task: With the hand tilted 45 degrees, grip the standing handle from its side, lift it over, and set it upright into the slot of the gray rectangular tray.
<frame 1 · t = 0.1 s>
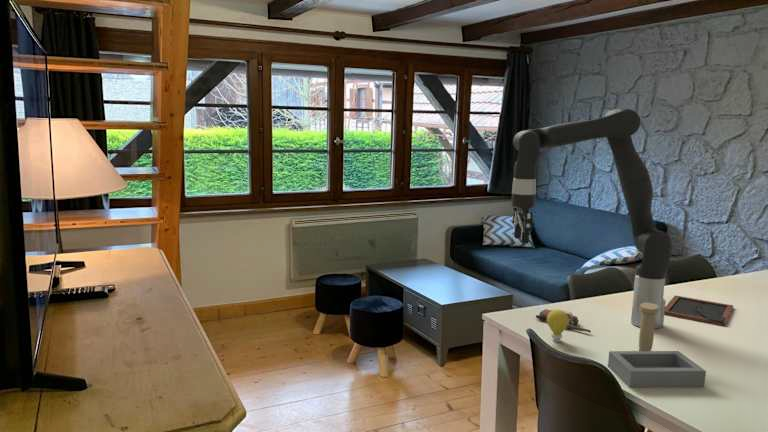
hand: (521, 240, 187), 29 cm above the table, tool pointing down, fingers open, 8 cm apart
light bulb: (556, 340, 178), on the table
walkie-talkie: (565, 326, 193), on the table
gray rectangular tray: (654, 376, 153), on the table
picture frame: (697, 313, 209), on the table
handle: (644, 354, 168), on the table
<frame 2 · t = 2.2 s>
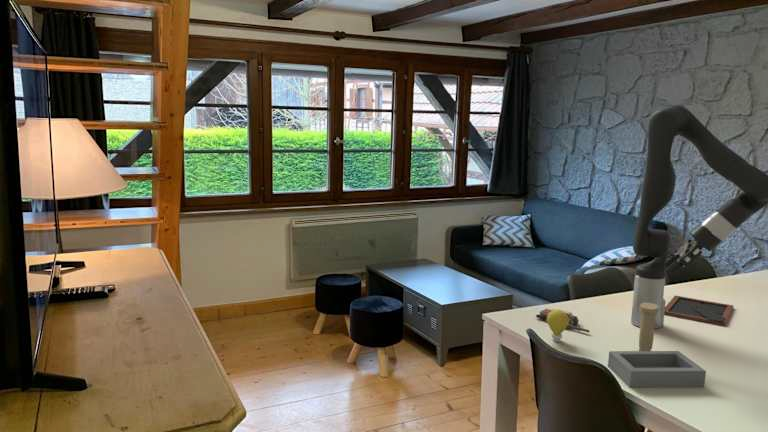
hand: (667, 269, 166), 26 cm above the table, tool tilted 40°, fingers open, 8 cm apart
nothing on the table moved.
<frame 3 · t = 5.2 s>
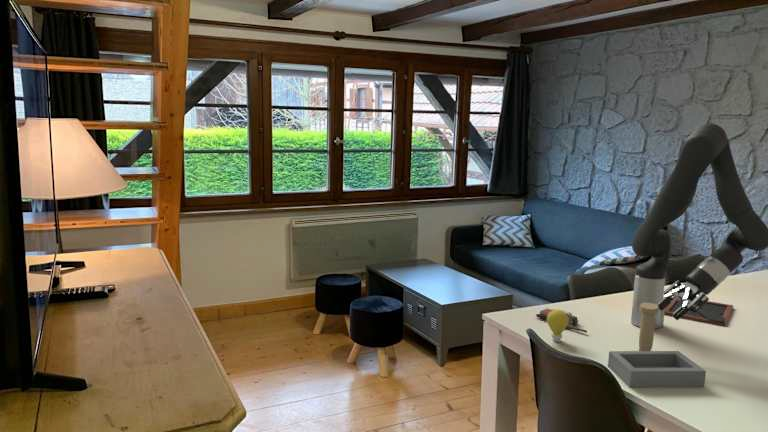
hand: (666, 312, 166), 13 cm above the table, tool tilted 45°, fingers open, 8 cm apart
nothing on the table moved.
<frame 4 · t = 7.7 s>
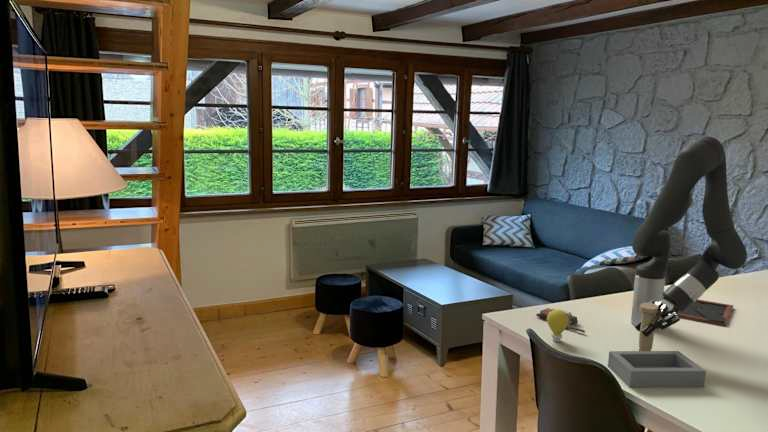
hand: (640, 331, 167), 7 cm above the table, tool tilted 45°, fingers closed on handle, 3 cm apart
handle: (644, 354, 168), on the table, touching gripper
everything else where it was.
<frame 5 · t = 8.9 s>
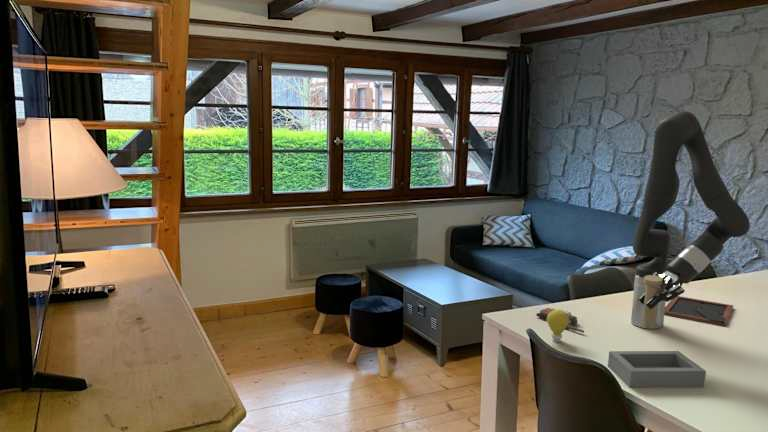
hand: (644, 304, 166), 15 cm above the table, tool tilted 45°, fingers closed on handle, 3 cm apart
handle: (648, 327, 167), point 8 cm above the table, touching gripper
when the fingers open (9 cm above the table, at t = 13.4 s): handle drops 1 cm, resting on gray rectangular tray.
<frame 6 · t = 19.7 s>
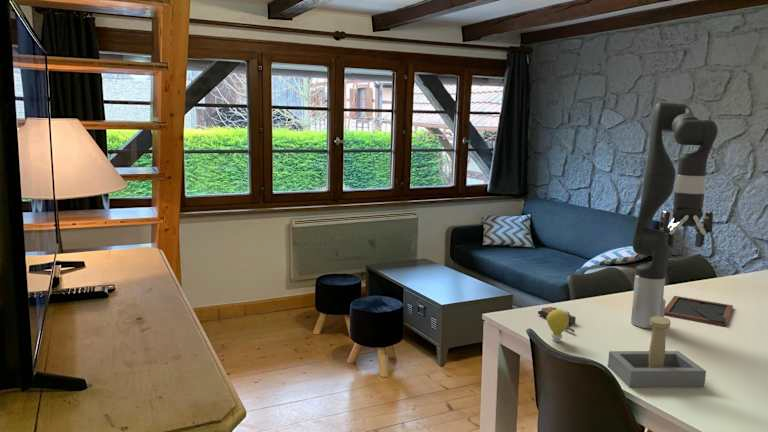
hand: (683, 246, 162), 33 cm above the table, tool pointing down, fingers open, 8 cm apart
handle: (655, 373, 153), point 1 cm above the table, touching gray rectangular tray
at the end: handle inside the target area on the gray rectangular tray (0.2 cm from its centre), point 0.8 cm above the gray rectangular tray's base; handle tilted 0°; the gripper is holding nothing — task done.
